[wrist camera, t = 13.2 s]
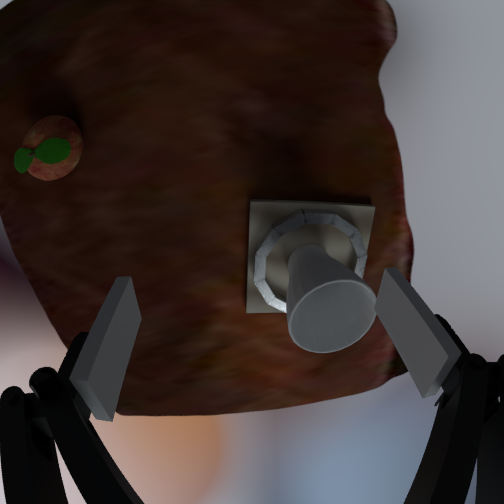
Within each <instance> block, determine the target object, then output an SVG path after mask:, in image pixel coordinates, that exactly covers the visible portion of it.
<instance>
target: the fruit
mask: <svg viewBox="0 0 504 504" xmlns="http://www.w3.org/2000/svg"><path fill="white" fill-rule="evenodd" d="M82 151H83V137H82V134H81V130H80V129H79V127H78V126H77V125H76V123H75V122H74V121H73V120H71V119H70V118H68V117H64V116H60V115H53V116H47V117H45V118H43V119H41V120H39V121H37V122H36V123H35V124H34V125H33V126H32V127H31V128H30V129H29V131H28V132H27V134H26V136H25V139H24V142H23V145H22V148H21V149H18V151H17V152H16V153H15V157H14V165H15V168H16V169H17V171H19V172H20V173H23V172H26V171H27V170H28V171H29V173H30V174H31V175H33V176H34V177H36V178H39V179H42V180H45V181H49V180H56V179H59V178H61V177H63V176H65V175H67V174H68V173H69V172H71V171H72V170H73V169H74V167H75V166H76V165H77V163H78V161H79V159H80V157H81V154H82Z"/></svg>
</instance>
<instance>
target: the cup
mask: <svg viewBox="0 0 504 504" xmlns="http://www.w3.org/2000/svg"><path fill="white" fill-rule="evenodd" d="M288 270H289V284H288V290H287V300H286V313H287V321H288V328H289V334H290V336H291V338H292V339H293V341H294V342H295V343H296V344H297V345H298V346H299V347H301V348H303V349H305V350H307V351H311V352H316V353H329V352H333V351H338V350H341V349H343V348H346V347H348V346H350V345H352V344H353V343H355V342H356V341H358V340H359V339H360V338H361V337H362V336H363V335H364V334H365V333H366V332H367V331H368V330H369V328H370V327H371V325H372V324H373V322H374V319H375V316H376V314H377V313H376V312H375V310H374V307H375V303H376V296H375V294H374V293H373V291H372V290H371V288H370V287H369V286H368V285H367V284H366V282H365V281H364V280H363V279H362V278H361V277H360V276H358V275H357V274H356V273H355V272H353V271H352V270H351V269H349V268H348V267H347V266H345V265H344V264H343V263H341V262H339V261H337V260H335V259H334V258H332V257H331V256H329V255H328V254H327V252H326V251H325V250H324V249H323V248H321V247H320V246H318V245H315V244H306V245H302V246H300V247H298V248H297V249H295V250H294V251H293V252H292V254H291V255H290V257H289V260H288Z"/></svg>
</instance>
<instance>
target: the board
mask: <svg viewBox="0 0 504 504" xmlns="http://www.w3.org/2000/svg"><path fill="white" fill-rule="evenodd" d="M302 208H303V209H328V210H333V211H334V212H336V213H337V214H339V215H340V216H342V217H343V218H344V219H346V220H347V221H349V222H350V223H352V224H353V225H354V226H355V227H356V228H357V229H358V230H359V232H360V235H361V238H362V240H363V243H364V246H365V249H366V252H367V248H368V243H369V238H370V233H371V228H372V223H373V217H374V212H375V206H373V205H372V204H357V203H340V202H321V201H297V200H264V199H250V218H249V244H248V271H247V299H246V312H247V313H273V312H283V311H281V310H279V309H277V308H275V307H273V306H270V305H268V304H267V302H266V301H265V299H264V298H263V296H262V294H261V293H260V291H259V290H258V288H257V286H256V285H255V283H254V278H253V267H254V249H255V247H256V246H257V244H258V243H259V241H260V240H261V238H262V237H263V235H264V234H265V232H266V231H267V230H268V228H269V227H270V225H271V224H273V222H275V221H277V220H279V219H281V218H283V217H285V216H287V215H289V214H291V213H293V212H295V211H297V210H299V209H301V211H302ZM306 244H315V245H318V246H320V247H321V248H323V249H324V250H325V251H326V252H327V254H328V255H329V256H331V257H332V258H334V259H335V260H337V261H339V262H341V263H343V264H344V265H345V266H347V267H348V268H349V269H350V267H351V262H352V258H353V253H354V251H353V249H352V246H351V243H350V241H349V238H348V236H347V234H345V233H344V232H342V231H341V230H339V229H338V228H336V227H335V226H333V225H332V224H304V225H302V226H300V227H298V228H296V229H294V230H292V231H290V232H288V233H286V234H284V235H282V236H281V237H280V239H279V240H278V241H277V243H276V244H275V246H274V247H273V248H272V250H271V251H270V253H269V254H268V256H267V257H266V269H265V277H266V279H267V280H268V282H269V284H270V285H271V287H272V289H273V290H274V292H276V293H278V294H280V295H282V296H284V297H286V298H287V290H288V284H289V270H288V260H289V257H290V255H291V254H292V252H293V251H294V250H295V249H297V248H298V247H300V246H302V245H306Z"/></svg>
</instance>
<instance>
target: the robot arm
mask: <svg viewBox="0 0 504 504" xmlns="http://www.w3.org/2000/svg"><path fill="white" fill-rule="evenodd" d="M374 310H375V312H376V313H377V315H378V317H379V319H380V320H381V322H382V324H383V325H384V327H385V329H386V331H387V332H388V334H389V336H390V338H391V340H392V341H393V343H394V345H395V347H396V349H397V350H398V352H399V354H400V356H401V358H402V359H403V361H404V363H405V365H406V367H407V369H408V371H409V373H410V375H411V376H412V378H413V380H414V382H415V384H416V386H417V388H418V390H419V392H420V394H421V396H422V398H425V397H428V396H431V395H435V394H436V393H437V391H438V390H439V388H440V387H441V386H442V388H443V390H444V392H443V393H442V395H441V396H440V397H439V399H438V400H437V402H436V403H435V405H434V406H437V405H438V403H439V406H438V410H437V414H436V418H435V421H434V424H433V428H432V431H431V434H430V437H429V441H428V443H427V446H426V449H425V452H424V455H423V458H422V461H421V464H420V466H419V469H418V471H417V474H416V476H415V479H414V481H413V483H412V486H411V488H410V491H409V493H408V495H407V497H406V499H405V502H404V504H464V503H465V500H466V497H467V494H468V490H469V487H470V483H471V480H472V476H473V472H474V468H475V464H476V459H477V486H476V500H475V504H504V354H503V355H501V356H500V358H499V359H498V361H497V362H486V360H485V359H484V358H483V357H482V356H480V355H478V354H474V353H472V354H470V352H469V351H468V349H467V348H466V347H465V345H464V344H463V342H462V341H461V340H460V338H459V337H458V336H457V334H455V331H454V330H453V329H451V326H450V325H449V323H448V322H447V321H446V320H445V319H444V318H443V317H441V316H440V315H438V314H435V315H434V314H433V313H432V311H431V310H430V309H429V307H428V306H427V305H426V303H425V302H424V301H423V300H422V298H421V297H420V296H419V295H418V293H417V292H416V291H415V289H414V288H413V287H412V286H411V285H410V283H409V282H408V281H407V280H406V278H405V277H404V276H403V275H402V274H401V272H400V271H399V270H398V269H397V268H385V270H384V274H383V278H382V281H381V285H380V289H379V293H378V296H377V300H376V303H375V307H374ZM140 322H141V315H140V311H139V307H138V304H137V300H136V296H135V292H134V288H133V283H132V279H131V277H117V278H116V280H115V282H114V284H113V286H112V288H111V290H110V292H109V294H108V295H107V297H106V299H105V301H104V303H103V305H102V307H101V309H100V311H99V313H98V315H97V317H96V320H95V322H94V324H93V326H92V328H91V330H90V332H80V333H79V334H78V335H77V336H76V337H75V338H74V339H73V341H72V343H71V345H70V347H69V349H68V351H67V353H66V356H65V358H64V360H63V362H62V364H61V366H60V368H59V371H58V373H57V372H56V371H55V369H53V368H51V367H43V368H39V369H38V370H36V371H35V372H34V373H33V374H32V375H31V377H30V380H29V386H30V388H31V389H32V391H33V392H34V393H26V394H25V393H24V392H23V391H22V390H21V388H19V387H17V386H11V387H9V388H7V389H6V390H4V391H3V393H2V395H1V398H0V456H1V469H2V478H3V486H4V493H5V499H6V504H68V500H67V497H66V493H65V489H64V485H63V481H62V477H61V473H60V468H59V464H58V458H57V453H56V447H55V442H56V444H57V447H58V449H59V451H60V454H61V456H62V458H63V460H64V462H65V464H66V466H67V468H68V470H69V472H70V474H71V476H72V478H73V480H74V482H75V484H76V485H77V487H78V489H79V491H80V493H81V495H82V496H83V498H84V500H85V501H86V503H87V504H144V503H143V501H142V500H141V499H140V497H139V496H138V495H137V493H136V492H135V491H134V489H133V488H132V487H131V485H130V484H129V482H128V481H127V480H126V478H125V477H124V475H123V474H122V472H121V471H120V469H119V468H118V466H117V465H116V463H115V462H114V460H113V459H112V457H111V456H110V454H109V452H108V451H107V449H106V447H105V446H104V444H103V443H102V441H101V439H100V437H99V436H98V434H97V432H96V430H95V429H94V427H93V425H92V423H91V422H90V420H89V418H90V414H91V413H92V414H93V415H94V417H95V418H96V419H98V420H105V421H111V422H112V421H113V418H114V413H115V409H116V405H117V402H118V398H119V394H120V390H121V386H122V383H123V379H124V375H125V372H126V368H127V365H128V361H129V358H130V355H131V351H132V348H133V345H134V341H135V338H136V335H137V332H138V328H139V325H140ZM499 396H500V402H499V401H498V397H499ZM54 440H55V441H54Z"/></svg>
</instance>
